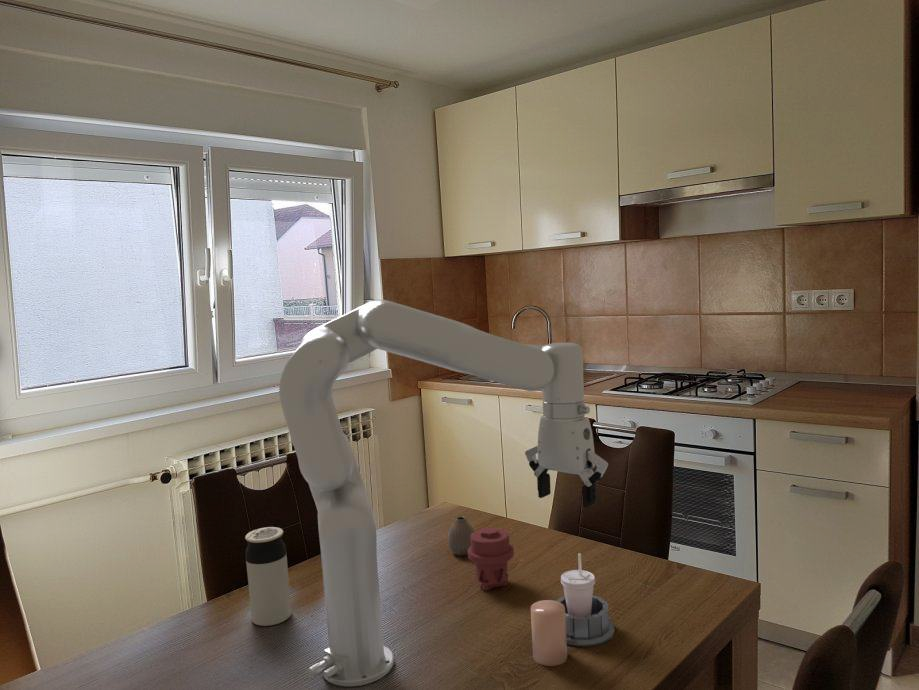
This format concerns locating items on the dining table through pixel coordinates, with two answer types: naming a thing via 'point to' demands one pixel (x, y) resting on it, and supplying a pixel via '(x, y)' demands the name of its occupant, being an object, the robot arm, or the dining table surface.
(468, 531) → the vase
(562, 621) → the peach rounded cylinder
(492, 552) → the mechanical component
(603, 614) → the ring socket
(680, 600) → the dining table surface
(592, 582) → the smoothie
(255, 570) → the travel mug
